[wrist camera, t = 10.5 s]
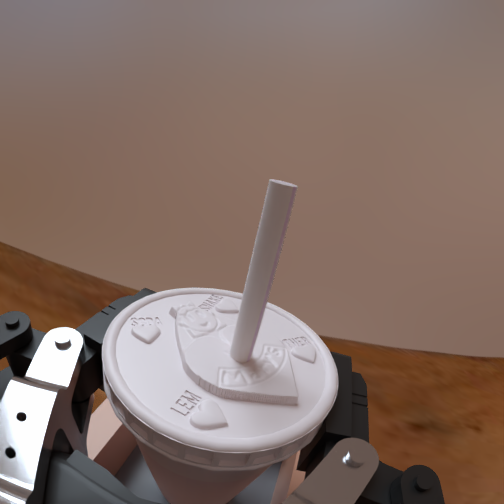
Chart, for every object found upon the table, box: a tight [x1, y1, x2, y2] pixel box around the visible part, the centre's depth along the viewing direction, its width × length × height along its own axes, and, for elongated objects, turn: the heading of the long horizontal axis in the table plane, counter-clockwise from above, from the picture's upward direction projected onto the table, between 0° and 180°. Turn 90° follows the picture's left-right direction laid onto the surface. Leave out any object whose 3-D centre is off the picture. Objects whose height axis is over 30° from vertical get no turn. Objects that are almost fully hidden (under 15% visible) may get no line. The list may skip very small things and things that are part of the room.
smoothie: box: [102, 179, 338, 504], centre depth 8 cm, size 6×6×14 cm
